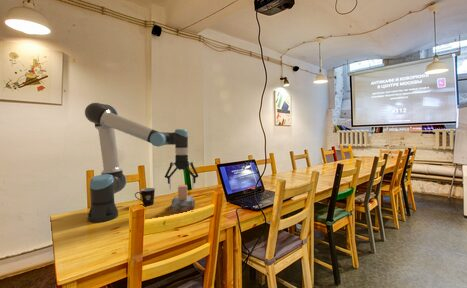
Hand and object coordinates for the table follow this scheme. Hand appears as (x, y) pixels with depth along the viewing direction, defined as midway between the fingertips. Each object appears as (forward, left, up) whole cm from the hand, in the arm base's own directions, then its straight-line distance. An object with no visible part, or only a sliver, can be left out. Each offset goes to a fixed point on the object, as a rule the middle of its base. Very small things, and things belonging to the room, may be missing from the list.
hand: (181, 188), depth 151 cm
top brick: (+1, 0, -6) cm, 6 cm away
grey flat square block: (0, 0, -12) cm, 12 cm away
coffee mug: (-25, +12, -13) cm, 30 cm away
